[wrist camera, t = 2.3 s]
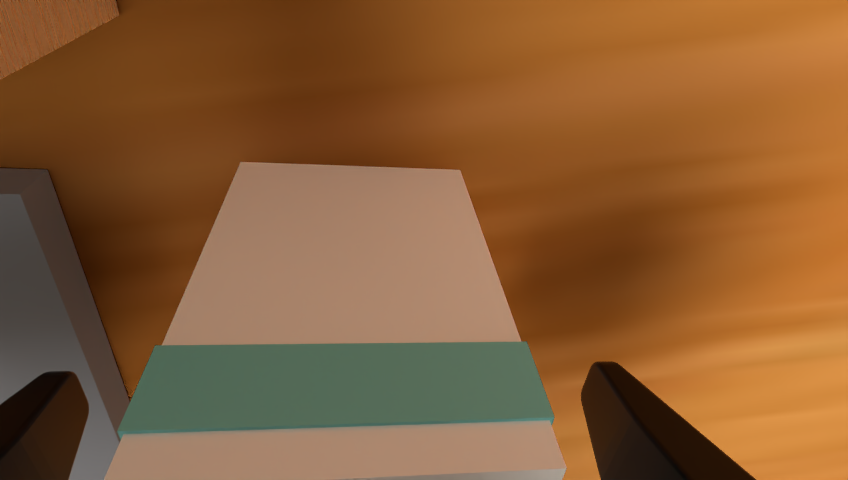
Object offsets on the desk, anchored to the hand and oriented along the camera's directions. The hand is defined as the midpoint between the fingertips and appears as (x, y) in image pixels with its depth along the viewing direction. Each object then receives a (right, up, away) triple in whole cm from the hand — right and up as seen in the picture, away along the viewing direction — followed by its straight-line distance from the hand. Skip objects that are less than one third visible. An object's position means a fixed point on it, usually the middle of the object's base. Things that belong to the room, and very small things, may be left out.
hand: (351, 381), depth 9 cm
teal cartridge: (0, +2, +3) cm, 4 cm away
